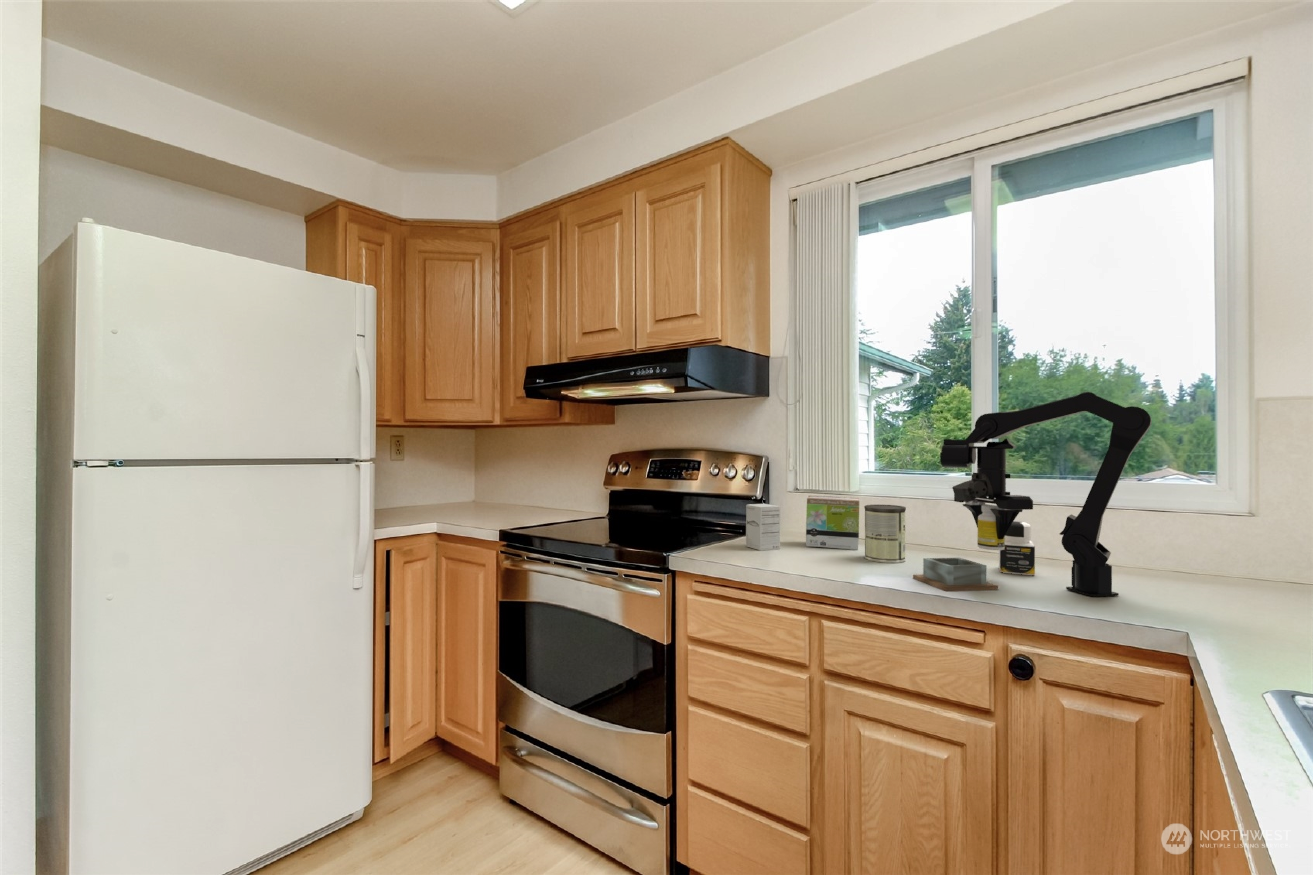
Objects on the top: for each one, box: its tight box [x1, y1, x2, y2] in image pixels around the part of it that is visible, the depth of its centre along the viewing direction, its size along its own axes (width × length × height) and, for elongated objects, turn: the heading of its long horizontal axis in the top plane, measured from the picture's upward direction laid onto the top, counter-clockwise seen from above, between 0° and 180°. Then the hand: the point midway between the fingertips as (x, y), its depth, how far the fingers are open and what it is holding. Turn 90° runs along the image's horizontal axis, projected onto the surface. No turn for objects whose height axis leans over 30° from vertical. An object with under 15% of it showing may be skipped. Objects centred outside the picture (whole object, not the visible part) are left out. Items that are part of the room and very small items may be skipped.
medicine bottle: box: [998, 520, 1036, 576], centre depth 144 cm, size 7×7×12 cm
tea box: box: [805, 495, 860, 551], centre depth 178 cm, size 15×10×15 cm, turn 73°
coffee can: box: [863, 504, 907, 564], centre depth 158 cm, size 10×10×14 cm
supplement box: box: [745, 503, 781, 551], centre depth 174 cm, size 7×7×13 cm
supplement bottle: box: [977, 504, 1005, 551], centre depth 136 cm, size 5×5×10 cm
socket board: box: [912, 557, 999, 592], centre depth 131 cm, size 12×12×5 cm
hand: (991, 537), depth 135 cm, fingers closed on supplement bottle, 5 cm apart
